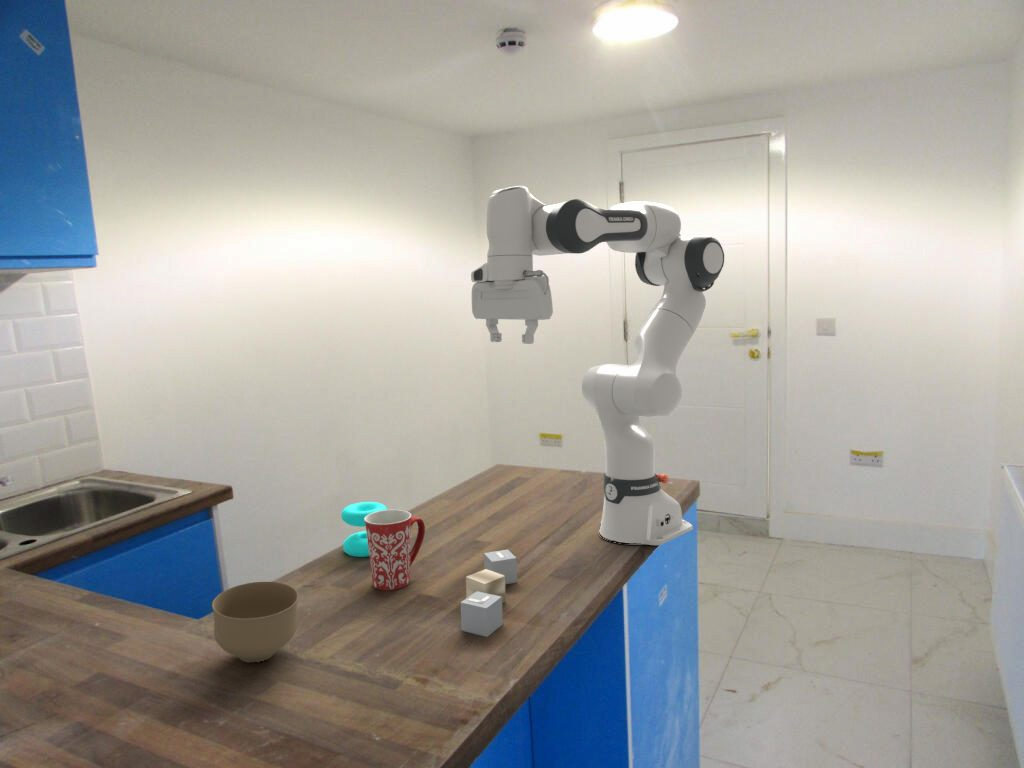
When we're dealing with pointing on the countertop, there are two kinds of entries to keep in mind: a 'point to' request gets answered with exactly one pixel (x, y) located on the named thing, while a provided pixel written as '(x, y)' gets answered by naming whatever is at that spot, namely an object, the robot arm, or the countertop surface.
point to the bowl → (255, 619)
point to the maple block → (486, 583)
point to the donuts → (355, 517)
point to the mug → (392, 547)
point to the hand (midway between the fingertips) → (511, 342)
